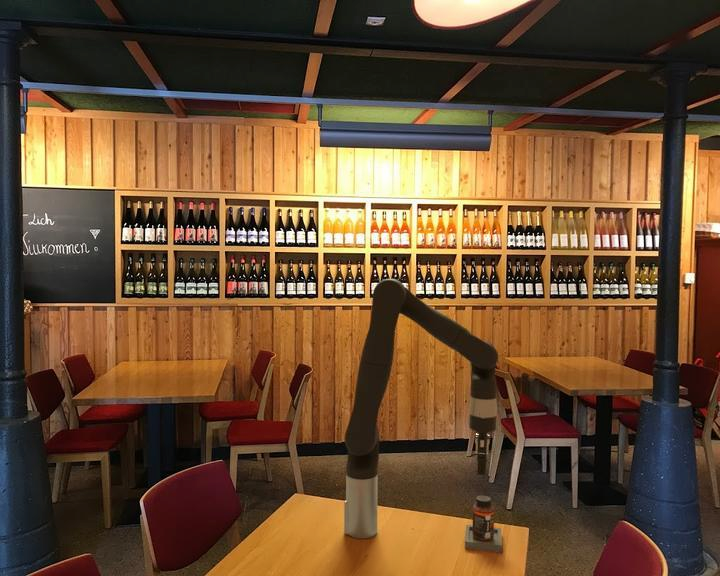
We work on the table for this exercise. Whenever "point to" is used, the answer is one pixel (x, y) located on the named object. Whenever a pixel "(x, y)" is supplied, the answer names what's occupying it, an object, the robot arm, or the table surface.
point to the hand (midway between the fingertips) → (481, 469)
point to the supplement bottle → (483, 519)
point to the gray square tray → (483, 545)
